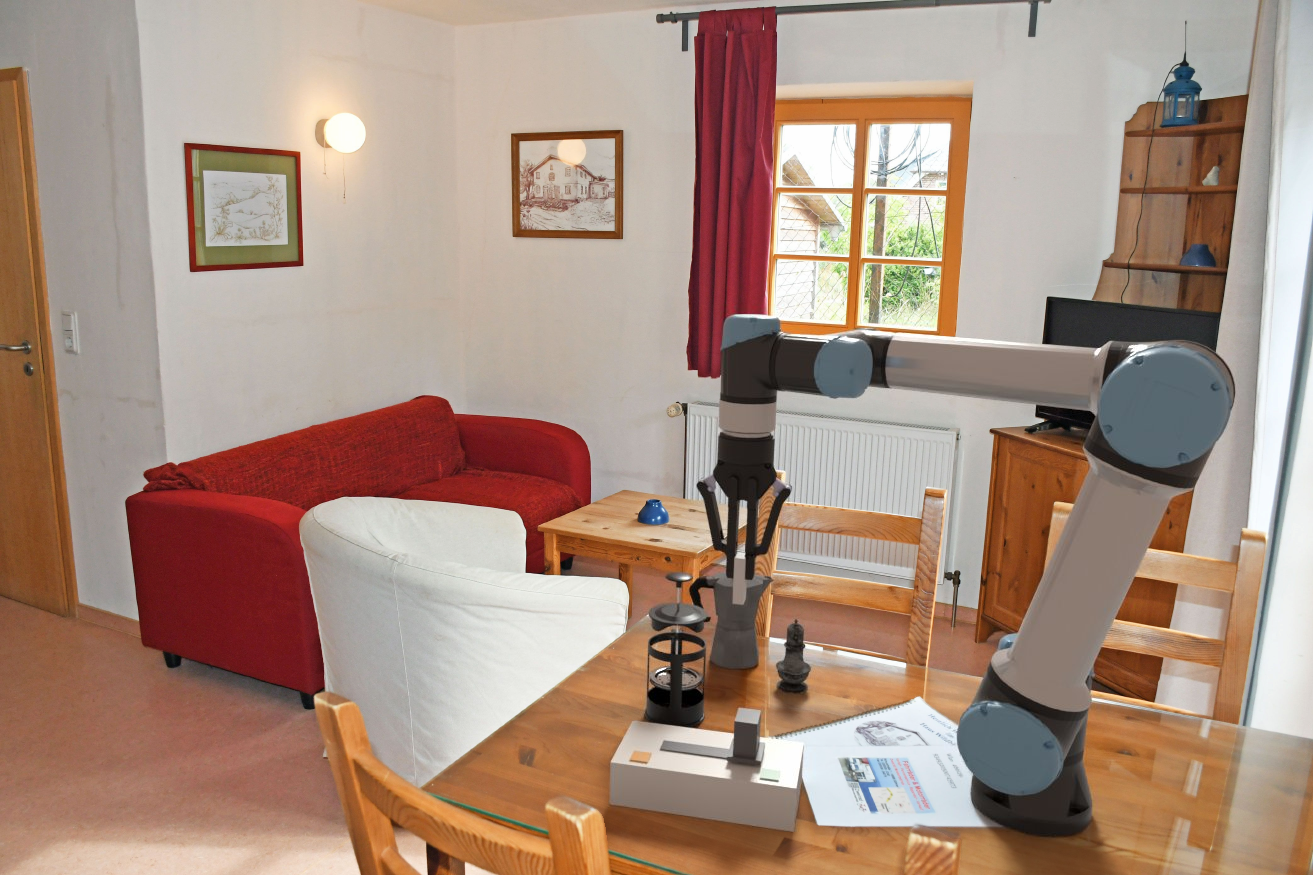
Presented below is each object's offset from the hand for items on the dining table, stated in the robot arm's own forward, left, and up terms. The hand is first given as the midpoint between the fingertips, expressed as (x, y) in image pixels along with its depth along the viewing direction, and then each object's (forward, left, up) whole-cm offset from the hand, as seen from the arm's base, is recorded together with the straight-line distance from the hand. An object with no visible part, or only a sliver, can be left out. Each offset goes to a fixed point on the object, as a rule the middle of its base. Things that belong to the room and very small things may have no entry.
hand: (739, 600), depth 137 cm
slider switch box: (+2, +8, -24) cm, 26 cm away
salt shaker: (-6, -28, -25) cm, 38 cm away
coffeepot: (+6, -36, -25) cm, 44 cm away
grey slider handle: (-3, +9, -18) cm, 20 cm away
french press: (+11, -13, -25) cm, 30 cm away
